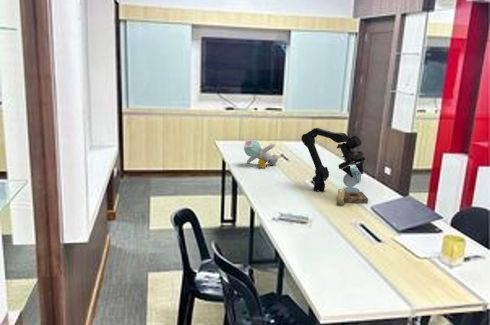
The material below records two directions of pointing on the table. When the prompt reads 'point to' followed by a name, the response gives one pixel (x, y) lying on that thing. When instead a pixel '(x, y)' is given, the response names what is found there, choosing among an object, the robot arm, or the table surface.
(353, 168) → the light bulb box
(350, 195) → the jig block
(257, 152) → the toy
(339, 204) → the gold cylinder
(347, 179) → the pocket watch
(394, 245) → the table surface
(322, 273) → the table surface
